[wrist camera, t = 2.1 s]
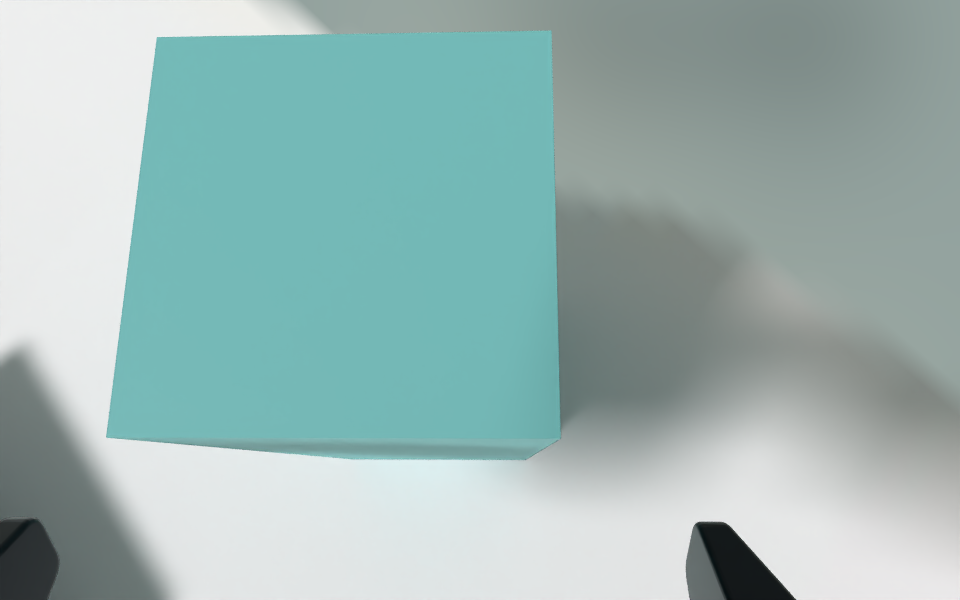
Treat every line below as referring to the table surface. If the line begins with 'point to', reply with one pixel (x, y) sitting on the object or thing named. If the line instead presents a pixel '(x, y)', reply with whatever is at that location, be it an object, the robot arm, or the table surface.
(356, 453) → the teal block
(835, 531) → the table surface
